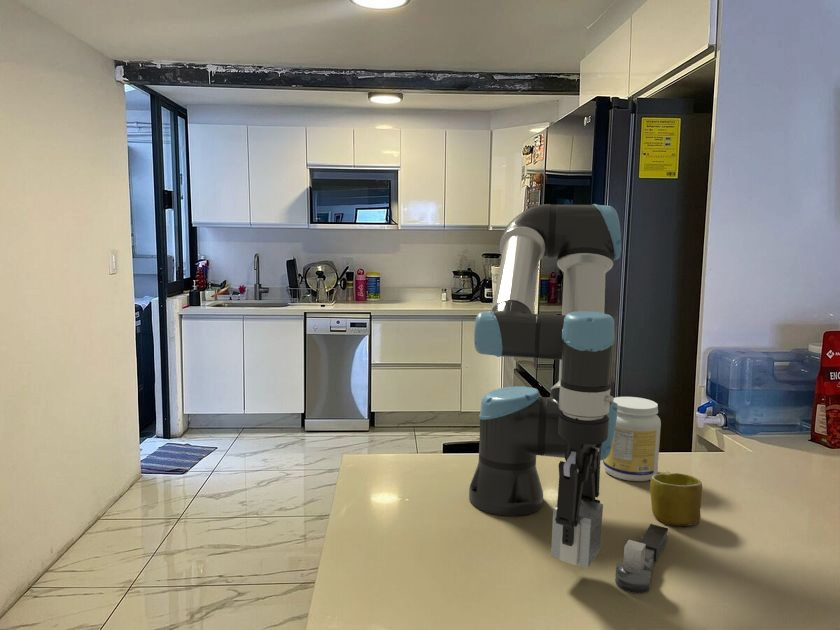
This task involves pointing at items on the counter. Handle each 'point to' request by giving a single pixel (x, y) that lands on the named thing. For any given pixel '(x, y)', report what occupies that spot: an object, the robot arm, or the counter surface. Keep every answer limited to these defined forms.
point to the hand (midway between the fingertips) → (575, 551)
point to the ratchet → (640, 560)
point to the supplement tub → (635, 440)
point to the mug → (676, 498)
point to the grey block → (582, 532)
